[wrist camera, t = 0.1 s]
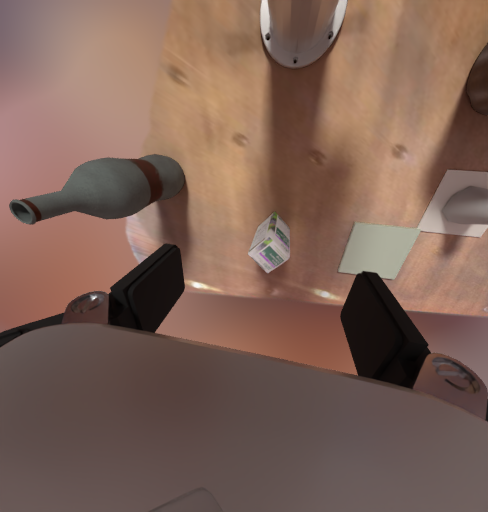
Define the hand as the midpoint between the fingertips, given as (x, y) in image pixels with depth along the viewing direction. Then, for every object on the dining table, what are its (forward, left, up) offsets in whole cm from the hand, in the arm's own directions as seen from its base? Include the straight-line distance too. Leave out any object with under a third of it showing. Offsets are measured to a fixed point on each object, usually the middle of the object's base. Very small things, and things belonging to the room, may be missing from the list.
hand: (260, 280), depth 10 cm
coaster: (+14, +24, -37) cm, 46 cm away
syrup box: (+11, 0, -37) cm, 39 cm away
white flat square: (+2, +36, -37) cm, 51 cm away
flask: (+2, +36, -37) cm, 51 cm away
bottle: (+1, -26, -37) cm, 45 cm away
